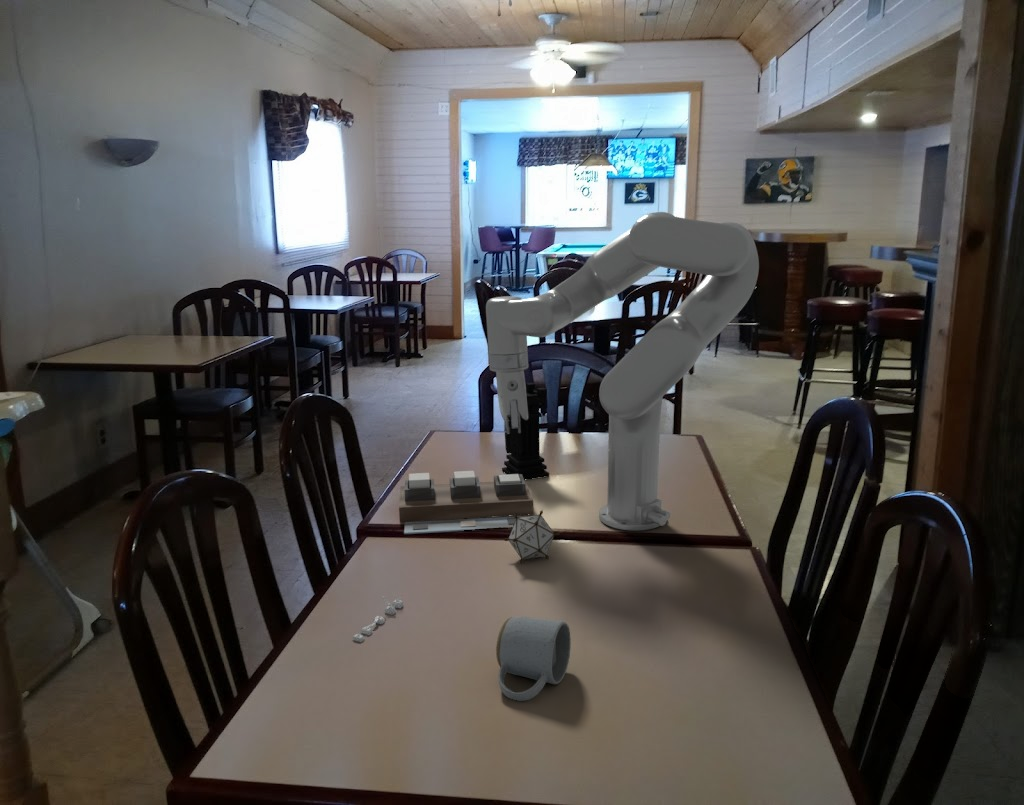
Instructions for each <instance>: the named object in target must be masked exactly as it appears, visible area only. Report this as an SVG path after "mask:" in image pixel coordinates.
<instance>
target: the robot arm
mask: <svg viewBox="0 0 1024 805" xmlns="http://www.w3.org/2000/svg"><path fill="white" fill-rule="evenodd" d="M759 261H760V260H759V255H758V249H757V246H756V242H755V240H754V238H753V236H752V234H751V232H750V231H749V230H748V229H747V228H746V227H745V226H743V225H741V224H739V223H737V222H731V221H727V222H713V221H704V220H697V219H690V218H684V217H678V216H675V215H673V214H672V213H669V212H666V211H657V212H650V213H647V214H644V215H642V216H641V217H639V218H638V219H637V220H636V221H635V222H634V224H633V225H632V227H631V228H629V229H628V230H627V231H625V232H623V233H622V234H621V235H619V236H618V237H617V238H615V239H613V240H612V241H610V242H609V243H607V244H606V245H604V246H603V247H601V248H600V249H598V250H597V251H595V252H593V254H591V255H590V257H588V258H587V259H586V261H585V263H584V264H583V266H582V267H580V269H578V270H577V271H576V272H574V274H572V275H571V276H570V277H568V278H566V279H565V280H564V281H562V282H560V283H559V284H558V285H556V286H555V287H553V288H552V289H550V290H548V291H547V292H544V293H542V294H539V295H537V296H534V297H530V298H525V299H524V298H521V297H520V296H515V295H514V296H512V295H510V296H509V295H506V296H505V295H504V296H496V297H492V298H489V299H488V300H487V301H486V304H485V316H486V330H487V331H486V332H487V345H488V347H487V348H488V359H489V360H488V362H489V364H488V365H489V370H490V371H491V372H494V373H495V374H496V375H495V376H496V390H497V392H496V393H497V398H498V400H497V401H498V408H499V411H500V415H501V417H502V420H503V421H504V430H505V431H504V443H505V451H506V454H511V453H519V452H522V433H521V427H520V414H521V416H522V418H523V419H525V420H527V419H528V408H527V396H526V377H525V372H524V371H525V370H527V369H528V368H529V355H528V354H529V353H528V338H527V337H532V338H545V337H548V336H550V335H552V334H554V333H556V332H558V330H561V329H563V328H564V327H567V325H569V324H571V323H572V322H573V321H575V320H576V319H578V318H579V317H581V316H582V315H584V314H585V313H588V312H589V311H590V310H592V309H593V308H595V307H597V306H598V305H599V304H601V303H603V302H604V301H606V300H609V299H612V298H614V297H615V296H616V295H618V294H620V293H622V292H623V291H625V290H627V289H628V288H630V287H631V286H632V285H634V284H635V283H636V282H638V281H640V280H641V279H643V278H644V277H646V276H647V275H649V274H651V273H653V272H654V271H655V270H657V269H658V268H665V269H669V270H675V271H682V272H689V273H694V274H700V275H705V276H704V278H703V279H702V280H701V282H700V283H698V285H697V286H696V287H695V288H694V289H693V290H692V291H691V292H690V293H689V294H688V295H687V297H686V298H685V299H684V300H683V301H682V302H681V303H680V304H679V305H678V306H677V307H676V308H675V309H673V311H671V313H669V314H668V316H667V315H666V317H665V318H663V319H661V320H660V321H659V322H657V323H656V324H654V326H653V327H651V329H649V330H648V331H647V332H646V334H644V335H643V337H642V338H640V339H639V341H638V342H637V343H636V344H634V346H633V347H632V348H631V349H630V350H629V351H628V352H627V353H626V354H625V355H624V356H623V357H622V358H621V359H620V360H619V361H618V362H617V363H616V364H615V365H614V366H613V367H612V368H611V369H610V370H609V371H608V372H607V374H606V375H604V377H603V378H602V380H601V382H600V386H599V391H598V392H599V393H598V396H599V402H600V405H601V406H602V408H603V409H604V411H605V412H606V413H607V414H608V415H609V418H608V420H609V421H608V441H607V442H608V444H607V446H608V448H607V454H608V455H607V502H606V503H607V504H605V505H603V506H602V507H601V508H600V509H599V512H598V517H599V520H600V521H601V522H602V523H603V524H604V525H606V526H609V527H611V528H614V529H618V530H622V531H648V530H653V529H655V528H658V527H660V526H661V527H662V526H665V525H666V523H667V521H668V520H669V519H670V517H671V512H670V511H667V510H664V509H662V499H659V498H658V495H659V494H658V493H659V492H658V490H659V467H660V466H659V465H660V464H659V463H660V461H659V460H660V439H661V437H660V436H661V419H662V418H661V415H662V407H663V405H662V404H663V397H664V396H665V395H666V394H667V393H668V392H669V391H670V390H671V389H672V388H673V387H674V386H675V385H676V384H677V383H678V382H679V381H680V380H681V379H683V377H685V375H687V373H688V372H689V371H690V370H691V369H692V368H693V366H694V365H695V364H696V362H697V360H698V359H699V358H700V356H701V354H702V352H703V351H704V350H705V348H707V346H708V345H709V344H711V342H712V341H713V340H714V339H715V338H716V337H717V336H718V335H719V334H720V333H722V331H723V330H724V329H725V328H726V326H728V325H729V323H730V322H731V321H733V320H734V318H735V317H736V316H737V315H738V314H739V313H740V311H742V310H743V308H744V307H745V306H746V304H747V303H748V301H749V300H750V298H751V296H752V294H753V293H754V290H755V287H756V285H757V281H758V277H759V270H760V262H759Z"/></svg>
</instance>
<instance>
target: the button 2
mask: <svg viewBox="0 0 1024 805" xmlns="http://www.w3.org/2000/svg"><path fill="white" fill-rule="evenodd" d="M512 483H520V478H519V475H518V474H499V484H512Z"/></svg>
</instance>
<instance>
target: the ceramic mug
mask: <svg viewBox="0 0 1024 805" xmlns="http://www.w3.org/2000/svg"><path fill="white" fill-rule="evenodd" d="M571 639H572V638H571V629H570V626H569V625H568V623H567V622H566V621H563V620H556V619H555V620H554V619H548V618H547V619H544V618H536V617H527V616H514V617H510V618H507V619H506V620H505V621H504V622H503V624H502V625H501V627H500V630H499V632H498V636H497V640H496V645H495V646H496V647H495V651H496V652H495V653H496V661H497V664H498V666H499V667H500V668H499V671H498V678H497V679H498V685H499V687H500V690H501V692H502V693H503V695H504V696H506V698H509V700H512V699H513V701H516V700H517V702H524V701H529V700H532V699H533V698H535V697H536V696H537V695H538V694H539V693H540V692H541V691H542V690H543V689H544V686H546V683H548V684H552V685H558V684H560V683H561V681H562V680H563V679H564V677H565V675H566V672H567V669H568V666H569V663H570V662H569V661H570V658H571V650H572V649H571ZM507 673H509V674H511V675H515V676H520V677H525V678H528V679H531V680H535V681H536V682H535V683H534V684H533V686H531V687H530V688H528V689H526V690H524V691H521V692H515V691H512V689H510V688H509V687H507V686H506V684H504V683H505V681H504V680H505V676H506V674H507Z"/></svg>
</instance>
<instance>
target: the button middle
mask: <svg viewBox="0 0 1024 805" xmlns="http://www.w3.org/2000/svg"><path fill="white" fill-rule="evenodd" d="M475 477H476V476H475V471H474V470H462V471H453V478H454V483H455V486H472V485H475Z"/></svg>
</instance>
